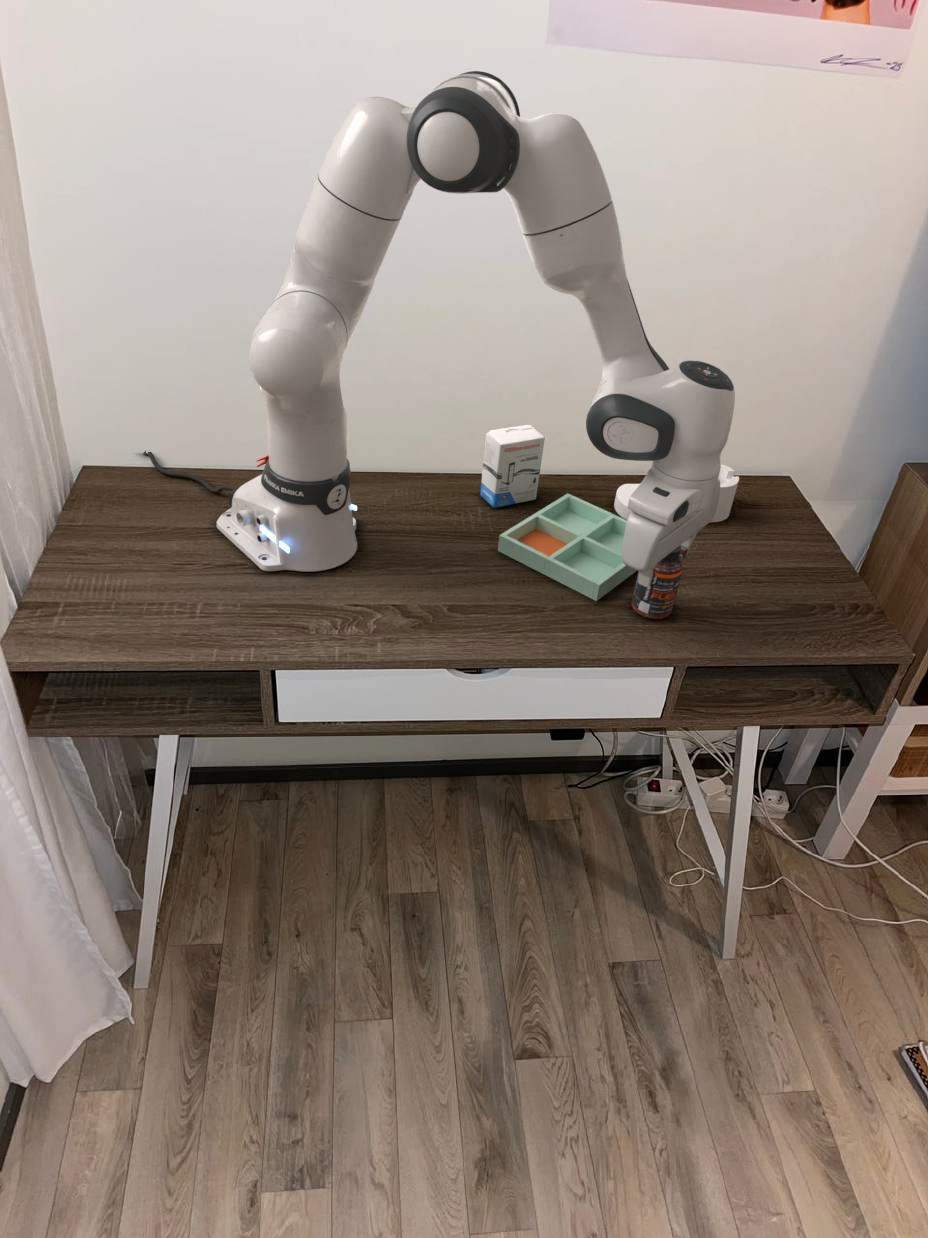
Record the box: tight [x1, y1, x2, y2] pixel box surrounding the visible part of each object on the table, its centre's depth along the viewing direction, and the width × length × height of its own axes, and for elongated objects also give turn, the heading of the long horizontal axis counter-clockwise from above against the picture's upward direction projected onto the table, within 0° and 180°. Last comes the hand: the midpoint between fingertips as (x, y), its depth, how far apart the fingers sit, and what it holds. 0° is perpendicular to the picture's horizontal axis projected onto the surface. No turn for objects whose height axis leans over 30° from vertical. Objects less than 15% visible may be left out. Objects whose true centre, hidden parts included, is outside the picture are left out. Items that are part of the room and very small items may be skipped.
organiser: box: [497, 493, 638, 602], centre depth 156 cm, size 18×18×3 cm
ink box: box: [479, 424, 545, 509], centre depth 166 cm, size 9×5×12 cm, turn 118°
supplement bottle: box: [631, 545, 685, 620], centre depth 143 cm, size 6×6×11 cm
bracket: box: [613, 463, 740, 523], centre depth 168 cm, size 20×9×7 cm, turn 98°
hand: (662, 569), depth 142 cm, fingers open, 8 cm apart
